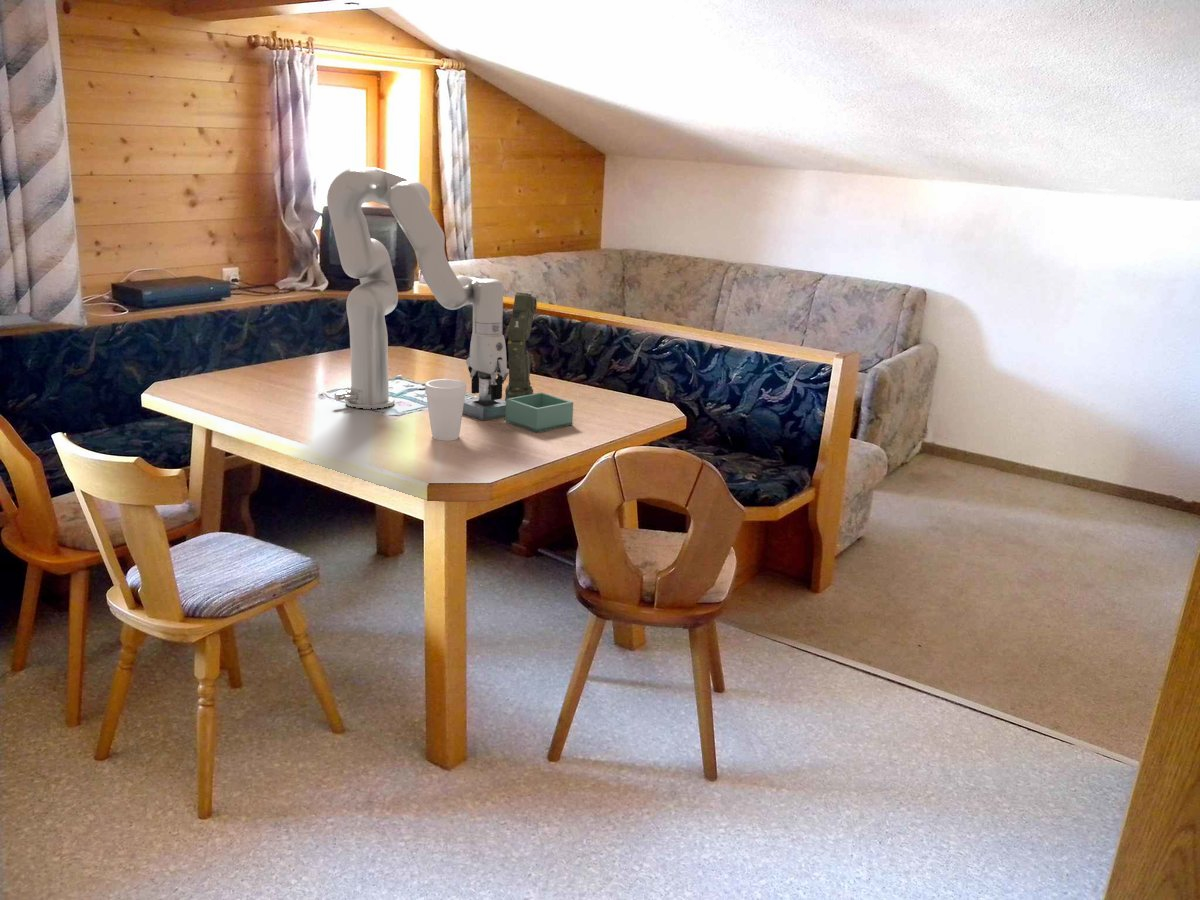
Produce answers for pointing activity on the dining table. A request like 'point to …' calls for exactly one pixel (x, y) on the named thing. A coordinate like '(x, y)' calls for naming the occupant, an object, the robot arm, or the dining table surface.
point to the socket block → (484, 409)
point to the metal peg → (485, 389)
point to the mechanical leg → (520, 346)
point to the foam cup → (445, 407)
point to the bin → (539, 412)
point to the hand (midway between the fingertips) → (486, 395)
